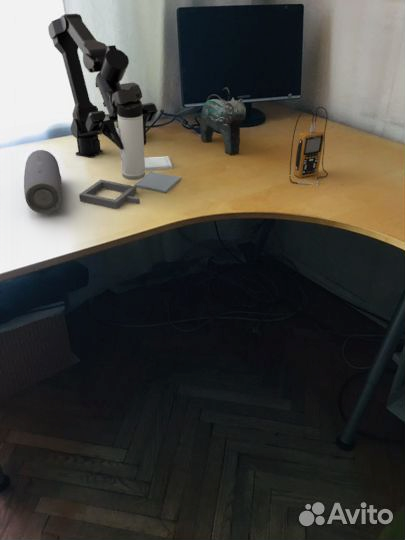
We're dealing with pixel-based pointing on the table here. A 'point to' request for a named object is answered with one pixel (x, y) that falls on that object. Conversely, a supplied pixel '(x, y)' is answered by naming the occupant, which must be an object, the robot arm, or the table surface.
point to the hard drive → (157, 163)
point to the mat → (157, 182)
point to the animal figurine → (223, 121)
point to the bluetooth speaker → (42, 182)
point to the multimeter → (309, 151)
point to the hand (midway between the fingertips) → (134, 146)
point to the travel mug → (131, 140)
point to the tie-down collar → (106, 202)
